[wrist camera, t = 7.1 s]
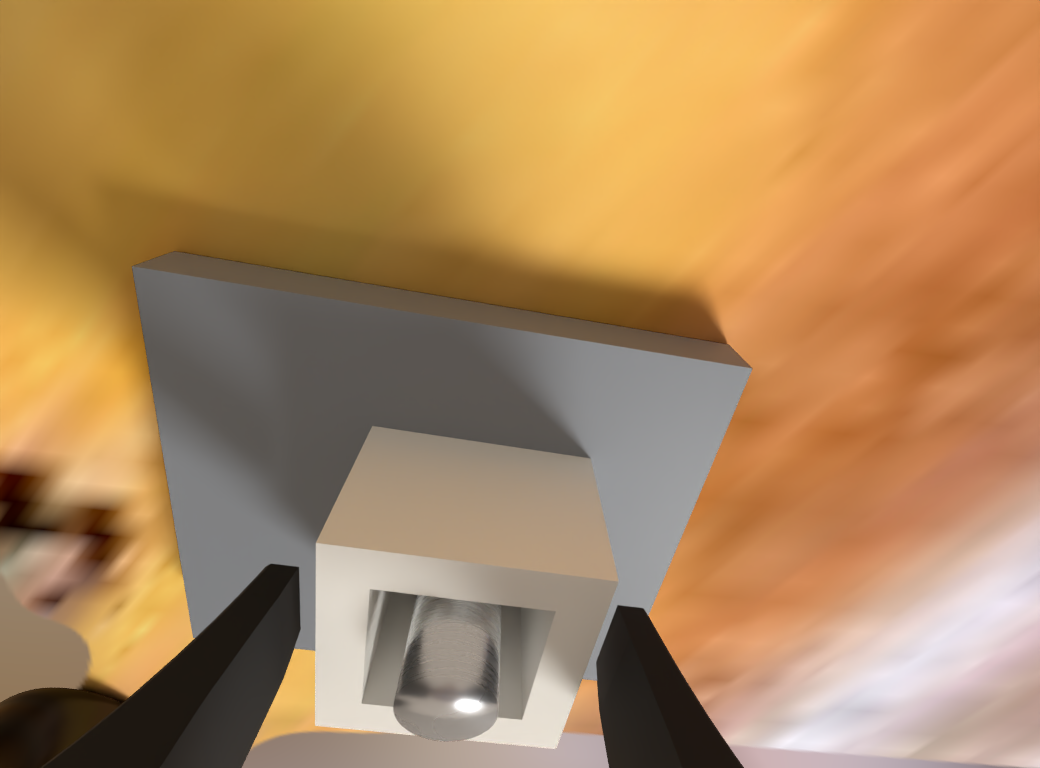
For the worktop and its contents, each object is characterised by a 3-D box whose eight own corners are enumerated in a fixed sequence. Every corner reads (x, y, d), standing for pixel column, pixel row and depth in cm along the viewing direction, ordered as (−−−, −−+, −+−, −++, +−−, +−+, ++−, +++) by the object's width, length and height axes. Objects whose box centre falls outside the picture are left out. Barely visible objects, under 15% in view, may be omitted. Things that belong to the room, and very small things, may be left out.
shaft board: (728, 344, 13) (893, 510, 8) (612, 642, 19) (656, 876, 13) (174, 251, 12) (-139, 362, 6) (218, 598, 17) (69, 833, 12)
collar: (590, 458, 13) (618, 581, 10) (546, 607, 16) (555, 748, 12) (372, 426, 13) (315, 543, 9) (362, 584, 15) (314, 725, 12)
